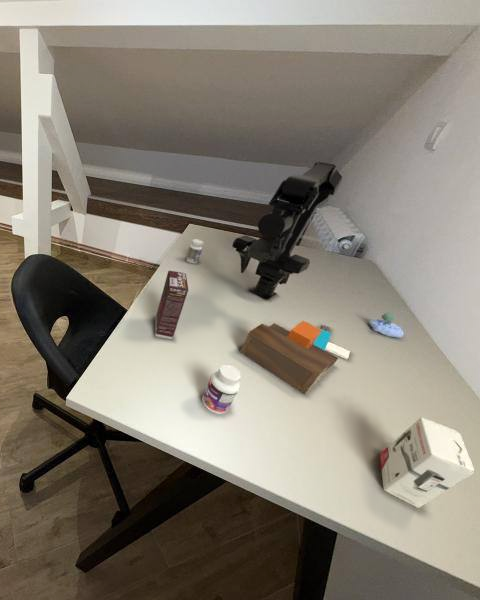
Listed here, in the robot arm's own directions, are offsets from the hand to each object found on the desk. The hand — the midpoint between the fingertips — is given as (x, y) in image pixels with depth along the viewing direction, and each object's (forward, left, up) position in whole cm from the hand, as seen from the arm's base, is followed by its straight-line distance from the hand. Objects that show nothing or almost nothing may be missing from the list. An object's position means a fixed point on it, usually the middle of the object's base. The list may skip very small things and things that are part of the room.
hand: (256, 279), depth 90 cm
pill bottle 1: (-14, -30, -11) cm, 35 cm away
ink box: (+25, +44, -11) cm, 52 cm away
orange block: (+7, +18, -8) cm, 21 cm away
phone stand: (-4, +21, -11) cm, 24 cm away
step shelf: (+12, +18, -11) cm, 24 cm away
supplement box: (+29, -7, -11) cm, 32 cm away
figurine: (-29, +29, -11) cm, 42 cm away
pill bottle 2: (+39, +16, -11) cm, 44 cm away
